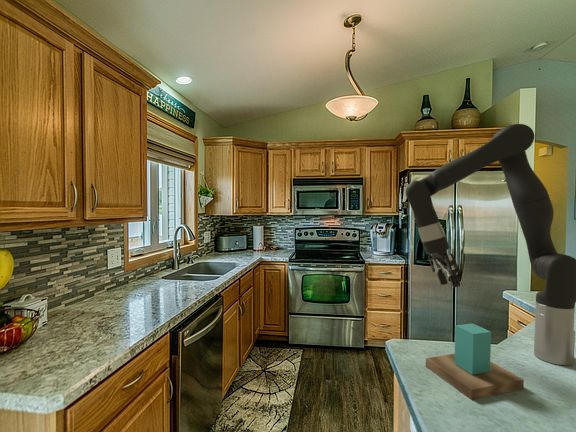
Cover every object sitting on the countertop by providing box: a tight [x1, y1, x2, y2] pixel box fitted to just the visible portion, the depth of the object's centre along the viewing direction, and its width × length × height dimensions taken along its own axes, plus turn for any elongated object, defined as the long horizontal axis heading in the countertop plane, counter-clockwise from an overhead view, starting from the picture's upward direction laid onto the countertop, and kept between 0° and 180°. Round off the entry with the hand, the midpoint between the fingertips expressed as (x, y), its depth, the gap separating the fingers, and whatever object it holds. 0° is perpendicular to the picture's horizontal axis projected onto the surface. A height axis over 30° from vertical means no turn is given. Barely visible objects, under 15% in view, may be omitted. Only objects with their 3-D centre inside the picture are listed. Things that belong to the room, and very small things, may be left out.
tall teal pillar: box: [454, 322, 492, 375], centre depth 85 cm, size 6×6×11 cm
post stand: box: [425, 353, 525, 400], centre depth 85 cm, size 17×16×12 cm
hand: (450, 285), depth 101 cm, fingers open, 8 cm apart
